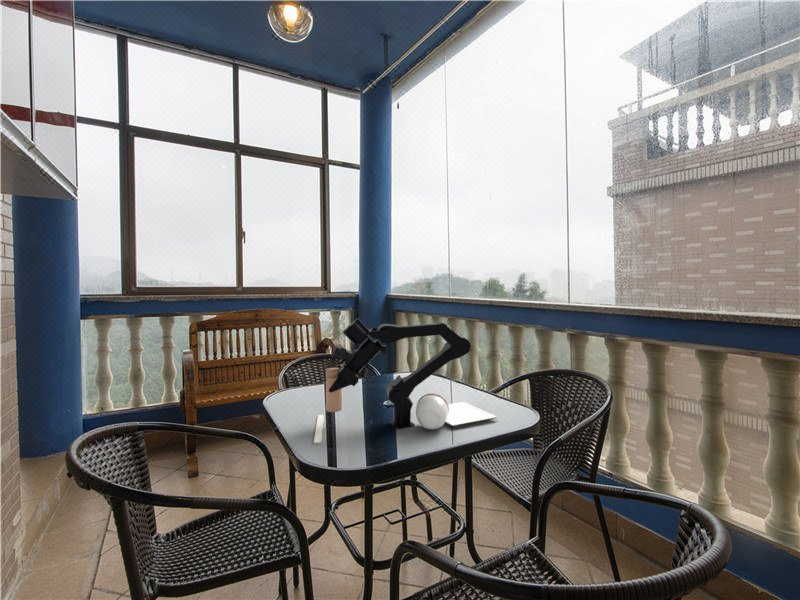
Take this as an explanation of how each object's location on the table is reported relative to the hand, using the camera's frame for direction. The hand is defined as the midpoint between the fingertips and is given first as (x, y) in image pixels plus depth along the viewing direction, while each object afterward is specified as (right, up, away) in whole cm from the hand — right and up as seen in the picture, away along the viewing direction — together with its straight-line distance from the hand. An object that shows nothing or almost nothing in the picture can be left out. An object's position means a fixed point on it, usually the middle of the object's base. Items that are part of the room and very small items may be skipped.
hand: (329, 389), depth 127 cm
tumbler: (+1, -7, 0) cm, 7 cm away
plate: (+43, -13, +12) cm, 47 cm away
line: (-3, -12, 0) cm, 13 cm away
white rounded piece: (+32, -8, -4) cm, 33 cm away
